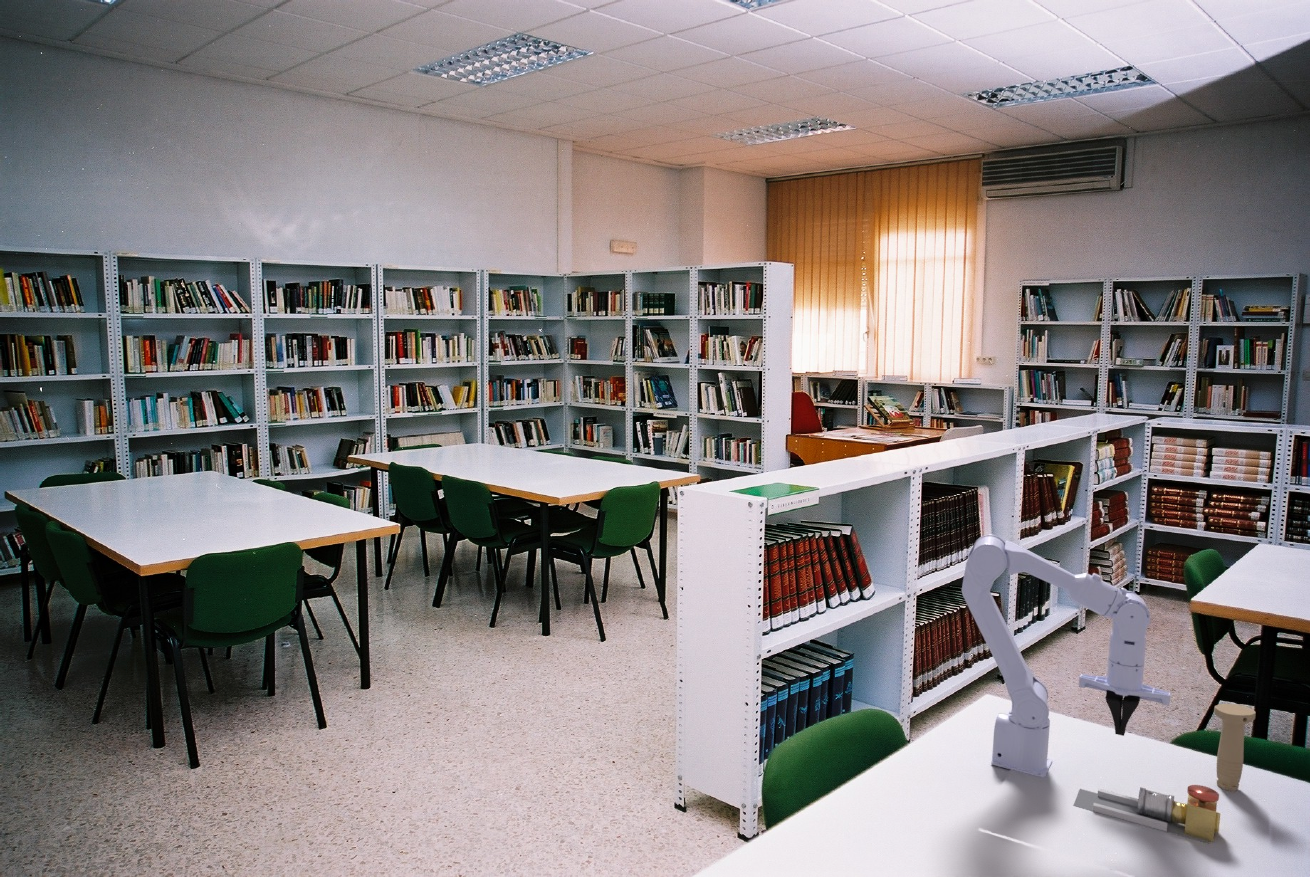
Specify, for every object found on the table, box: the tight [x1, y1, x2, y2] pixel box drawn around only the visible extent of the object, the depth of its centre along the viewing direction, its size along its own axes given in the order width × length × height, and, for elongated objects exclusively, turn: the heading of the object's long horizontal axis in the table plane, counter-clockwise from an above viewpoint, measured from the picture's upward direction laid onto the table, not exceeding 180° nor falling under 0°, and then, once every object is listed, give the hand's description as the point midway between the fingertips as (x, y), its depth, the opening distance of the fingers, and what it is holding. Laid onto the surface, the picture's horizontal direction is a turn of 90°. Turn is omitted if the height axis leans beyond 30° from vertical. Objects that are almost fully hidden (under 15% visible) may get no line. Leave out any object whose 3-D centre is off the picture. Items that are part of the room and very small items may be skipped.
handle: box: [1213, 703, 1256, 792], centre depth 160 cm, size 5×6×15 cm
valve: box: [1172, 784, 1221, 843], centre depth 146 cm, size 7×5×7 cm
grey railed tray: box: [1073, 788, 1211, 845], centre depth 151 cm, size 20×7×1 cm, turn 56°
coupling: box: [1137, 787, 1175, 823], centre depth 150 cm, size 5×4×4 cm
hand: (1120, 732), depth 162 cm, fingers closed
